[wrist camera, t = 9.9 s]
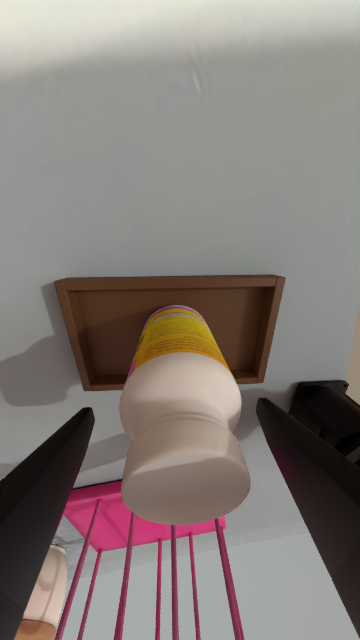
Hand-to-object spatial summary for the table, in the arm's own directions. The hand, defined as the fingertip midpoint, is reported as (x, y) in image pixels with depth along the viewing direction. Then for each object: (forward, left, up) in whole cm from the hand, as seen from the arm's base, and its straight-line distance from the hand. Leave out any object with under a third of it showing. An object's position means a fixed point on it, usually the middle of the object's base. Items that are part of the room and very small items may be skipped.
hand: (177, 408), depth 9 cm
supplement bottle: (0, 0, -10) cm, 10 cm away
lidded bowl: (+27, +49, -10) cm, 57 cm away
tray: (0, 0, -10) cm, 10 cm away
